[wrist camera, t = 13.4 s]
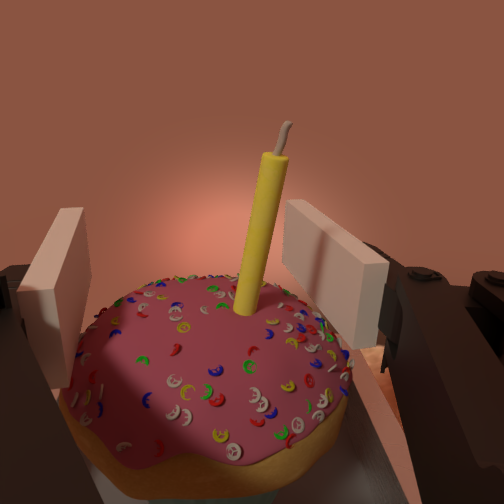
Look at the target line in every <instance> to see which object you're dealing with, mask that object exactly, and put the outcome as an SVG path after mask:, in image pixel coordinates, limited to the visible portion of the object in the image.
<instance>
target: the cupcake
mask: <svg viewBox="0 0 504 504" xmlns="http://www.w3.org/2000/svg"><path fill="white" fill-rule="evenodd" d="M292 124H293V123H292V122H290V121H286V122H285V123H284V124H283V126H282V127H281V130H280V133H279V138H278V142H277V145H276V147H275V149H274V151H273V152H265V153H263V155H262V159H261V164H260V170H259V175H258V180H257V186H256V191H255V196H254V201H253V206H252V211H251V217H250V222H249V227H248V232H247V237H246V243H245V248H244V253H243V258H242V264H241V269H240V274H237V275H238V277H230V276H228V275H225V277H224V276H222V275H221V276H218V275H217V276H216V277H213V276H212V275H209V276H208V277H207V278H206V277H205V276H204V277H198V276H196V275H191V276H189V277H188V279H185V278H179V277H177V276H174V278H173V279H172V280H170V279H169V278H166V279H163V280H158V281H157V282H156V283H155V284H153V283H154V282H151V283H150V284H148V285H146V284H144V285H142V286H141V287H139V288H138V289H137V290H135V291H133V292H131V293H129V294H128V295H126V296H125V297H122V298H120V299H119V300H117V301H116V302H115V303H114V304H113V305H112V306H111V307H110V308H108V309H107V308H103V309H101V311H100V312H99V315H95V316H94V318H98V319H97V320H96V321H95V322H94V323H92V324H91V325H90V326H88V328H87V329H86V331H85V332H84V333H81V334H80V336H79V341H78V346H77V351H76V356H75V361H74V366H73V371H72V376H71V381H70V385H69V387H67V388H60V392H59V408H60V410H61V412H62V415H63V417H64V419H65V421H66V423H67V425H68V427H69V430H70V432H71V434H72V436H73V438H74V440H75V442H76V444H77V446H78V447H79V448H80V449H81V451H82V452H83V453H84V454H85V455H86V456H87V458H88V459H89V460H90V461H91V462H92V463H93V464H94V465H95V466H96V467H97V468H98V469H99V470H100V471H101V472H102V473H103V474H104V475H105V476H106V477H107V478H108V479H109V480H110V481H111V482H112V483H113V484H114V485H115V486H116V487H117V488H118V489H119V490H120V491H121V492H122V493H124V494H125V495H126V496H128V497H130V498H133V499H137V500H148V502H149V504H271V503H272V502H273V500H274V499H275V497H276V495H277V493H278V491H279V489H280V488H282V487H285V486H287V485H289V484H291V483H293V482H295V481H296V480H298V479H300V478H301V477H302V476H303V475H304V474H305V473H306V472H307V471H308V470H309V469H310V468H311V467H312V466H313V465H314V464H315V463H316V462H317V460H318V459H319V458H320V457H322V456H323V455H324V454H325V453H327V452H328V451H329V450H330V449H331V448H332V446H333V445H334V443H335V441H336V439H337V437H338V434H339V431H340V428H341V424H342V420H343V417H344V413H345V410H346V406H347V401H348V394H349V386H350V384H351V382H352V378H353V374H352V369H353V367H354V364H355V360H354V359H351V360H350V362H348V359H349V356H350V354H349V351H348V350H342V340H341V338H337V337H336V335H335V334H334V333H333V332H331V331H330V329H329V328H328V324H327V322H326V321H325V320H324V319H323V318H322V317H321V315H320V314H319V313H317V312H313V311H312V309H311V307H309V306H307V303H305V302H303V301H301V300H298V297H297V296H296V295H294V294H291V293H290V292H289V291H287V290H285V289H282V288H281V287H280V285H278V286H277V285H276V283H274V285H271V284H269V283H266V282H265V281H263V276H264V271H265V267H266V262H267V258H268V253H269V249H270V244H271V240H272V235H273V231H274V226H275V221H276V217H277V212H278V207H279V203H280V199H281V194H282V189H283V185H284V180H285V176H286V171H287V167H288V162H289V158H288V157H287V156H285V155H282V154H281V153H282V151H283V149H284V147H285V144H286V141H287V136H288V132H289V129H290V128H291V126H292ZM194 277H195V278H194ZM219 277H220V278H219ZM175 279H177V280H175ZM102 311H103V313H102ZM104 311H105V312H104ZM352 362H353V364H352ZM351 366H352V367H351Z"/></svg>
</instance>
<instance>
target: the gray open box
mask: <svg viewBox="0 0 504 504" xmlns="http://www.w3.org/2000/svg"><path fill="white" fill-rule="evenodd" d="M77 447H78V446H77ZM78 449H79V451H80V453H81V455H82V457H83V459H84V461H85V464H86V466H87V468H88V470H89V472H90V474H91V476H92V479H93V481H94V483H95V485H96V487H97V489H98V491H99V493H100V496H101V498H102V500H103V502H104V504H149V502H148V500H137V499H133V498H130V497H128V496H126V495H125V494H124V493H122V492H121V491H120V490H119V489H118V488H117V487H116V486H115V485H114V484H113V483H112V482H111V481H110V480H109V479H108V478H107V477H106V476H105V475H104V474H103V473H102V472H101V471H100V470H99V469H98V468H97V467H96V466H95V465H94V464H93V463H92V462H91V461H90V460H89V459H88V458H87V456H86V455H85V454H84V453H83V452H82V451H81V449H80V448H79V447H78ZM271 504H376V503H375V501H374V498H373V495H372V493H371V490H370V487H369V485H368V482H367V479H366V477H365V474H364V471H363V469H362V466H361V463H360V461H359V458H358V455H357V453H356V450H355V448H354V445H353V442H352V440H351V437H350V434H349V432H348V429H347V426H346V424H345V421H344V418H343V420H342V424H341V428H340V431H339V434H338V437H337V439H336V441H335V443H334V445H333V446H332V448H331V449H330V450H329V451H328V452H327V453H325V454H324V455H323V456H322V457H320V458H319V459H318V460H317V462H316V463H315V464H314V465H313V466H312V467H311V468H310V469H309V470H308V471H307V472H306V473H305V474H304V475H303V476H302V477H301V478H300V479H298V480H296V481H295V482H293V483H291V484H289V485H287V486H285V487H282V488H280V489H279V491H278V493H277V495H276V497H275V499H274V500H273V502H272V503H271Z"/></svg>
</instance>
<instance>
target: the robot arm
mask: <svg viewBox="0 0 504 504" xmlns="http://www.w3.org/2000/svg"><path fill="white" fill-rule="evenodd" d="M282 263H283V264H284V265H285V266H286V267H287V269H288V270H289V271H290V272H291V274H292V275H293V276H294V278H295V279H296V280H297V281H298V283H299V284H300V285H301V286H302V287H303V289H304V290H305V291H306V292H307V294H308V295H309V296H310V298H311V299H312V300H313V301H314V303H315V304H316V305H317V306H318V308H319V309H320V310H321V311H322V313H323V314H324V315H325V316H326V318H327V319H328V320H329V321H330V323H331V324H332V325H333V326H334V328H335V329H336V330H337V331H338V333H339V334H340V335H341V336H342V338H343V339H344V340H345V341H346V343H347V344H348V345H349V346H350V348H351V349H352V350H355V349H362V348H370V347H376V341H377V335H378V329H380V330H381V331H382V332H383V333H384V334H385V336H386V343H385V348H384V354H383V360H382V365H381V372H380V373H384V372H385V368H387V367H388V368H389V372H390V376H391V380H392V384H393V388H394V392H395V397H396V401H397V405H398V409H399V413H400V417H401V421H402V425H403V429H404V433H405V437H406V441H407V445H408V449H409V453H410V457H411V461H412V466H413V470H414V474H415V478H416V482H417V486H418V490H419V494H420V498H421V502H422V504H504V273H503V272H497V271H480V272H476V273H474V274H473V276H472V280H471V284H470V287H467V286H452V285H450V284H449V282H448V281H447V279H446V278H445V277H444V276H443V275H442V274H440V273H439V272H436V271H434V270H430V269H427V268H424V267H404V266H402V265H401V264H400V263H398V262H397V261H395V260H394V259H392V258H390V256H388V255H386V254H384V252H383V251H381V250H380V249H378V248H377V247H375V246H372V245H370V244H367V243H365V242H361V241H360V240H358V239H357V238H356V237H354V236H353V235H352V234H350V233H349V232H347V231H346V230H345V229H343V228H342V227H341V226H339V225H338V224H336V223H335V222H333V221H332V220H331V219H330V218H328V217H327V216H326V215H324V214H323V213H321V212H320V211H319V210H317V209H316V208H315V207H313V206H312V205H310V204H309V203H308V202H306V201H305V200H303V199H302V200H286V206H285V222H284V237H283V253H282ZM91 276H92V275H91V266H90V258H89V249H88V241H87V233H86V224H85V215H84V208H61V209H60V211H59V213H58V215H57V217H56V219H55V220H54V222H53V224H52V226H51V228H50V230H49V232H48V234H47V236H46V238H45V239H44V241H43V243H42V245H41V247H40V249H39V251H38V252H37V254H36V256H35V258H34V260H33V262H32V264H28V265H12V266H9V267H7V268H5V269H4V270H2V271H0V504H104V502H103V500H102V498H101V496H100V493H99V491H98V489H97V487H96V485H95V483H94V481H93V479H92V476H91V474H90V472H89V470H88V468H87V466H86V464H85V461H84V459H83V457H82V455H81V453H80V451H79V449H78V447H77V444H76V442H75V440H74V438H73V436H72V434H71V432H70V430H69V427H68V425H67V423H66V421H65V419H64V417H63V415H62V412H61V410H60V408H59V406H58V404H57V402H56V400H55V398H54V395H53V393H52V391H51V389H59V388H67V387H69V385H70V381H71V376H72V371H73V366H74V361H75V356H76V351H77V346H78V341H79V336H80V331H81V325H82V321H83V316H84V311H85V306H86V301H87V296H88V291H89V287H90V281H91Z"/></svg>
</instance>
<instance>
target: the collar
mask: <svg viewBox="0 0 504 504" xmlns="http://www.w3.org/2000/svg"><path fill="white" fill-rule="evenodd" d="M335 335H336V337H337V338H341V340H342V350H348V351H349V354H350V356H349V359H348V362H350V360H351V359H354V360H355V364H354V367H353V369H352V374H353V378H352V382H351V384H350V386H349V394H348V401H347V406H346V410H345V413H344V417H343V418H344V421H345V424H346V426H347V429H348V432H349V434H350V437H351V440H352V442H353V445H354V448H355V450H356V453H357V455H358V458H359V461H360V463H361V466H362V469H363V471H364V474H365V477H366V479H367V482H368V485H369V487H370V490H371V493H372V495H373V498H374V501H375V503H376V504H422V502H421V498H420V494H419V490H418V486H417V482H416V478H415V474H414V470H413V466H412V461H411V457H410V453H409V449H408V445H407V441H406V437H405V434H404V432H403V430H402V428H401V426H400V424H399V422H398V421H397V419H396V417H395V415H394V413H393V411H392V409H391V407H390V406H389V404H388V402H387V400H386V398H385V396H384V394H383V392H382V390H381V389H380V387H379V385H378V383H377V381H376V379H375V377H374V375H373V374H372V372H371V370H370V368H369V366H368V364H367V362H366V360H365V359H364V357H363V355H362V353H361V351H360V349H355V350H352V349H351V348H350V346H349V345H348V344H347V343H346V341H345V340H344V339H343V338H342V336H341V335H340V334H335ZM352 364H353V362H352ZM351 367H352V366H351ZM51 391H52V393H53V395H54V398H55V400H56V402H57V404H58V406H59V392H60V388H59V389H51Z"/></svg>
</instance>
